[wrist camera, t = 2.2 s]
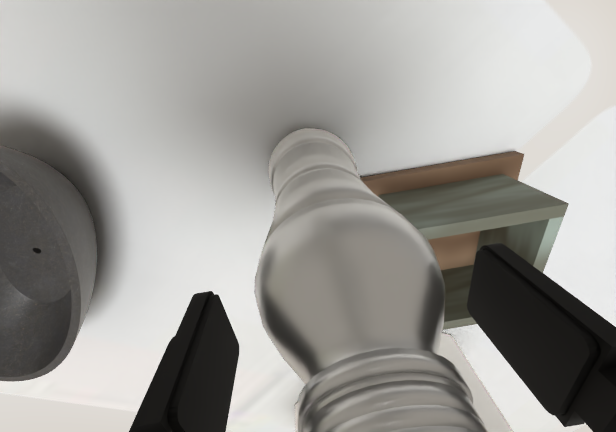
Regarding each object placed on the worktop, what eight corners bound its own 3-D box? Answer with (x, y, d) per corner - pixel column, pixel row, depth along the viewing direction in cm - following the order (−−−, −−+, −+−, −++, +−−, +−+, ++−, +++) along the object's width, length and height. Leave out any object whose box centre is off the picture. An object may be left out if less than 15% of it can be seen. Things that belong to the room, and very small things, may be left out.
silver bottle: (311, 103, 20) (531, 329, 2) (363, 166, 22) (645, 490, 5) (253, 160, 21) (118, 542, 4) (308, 212, 24) (372, 576, 7)
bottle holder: (357, 177, 23) (385, 215, 17) (515, 151, 23) (599, 179, 17) (364, 293, 30) (385, 350, 24) (486, 272, 30) (538, 323, 24)
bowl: (138, 150, 21) (85, 178, 15) (115, 331, 30) (77, 390, 24) (-58, 84, 17) (-213, 89, 12) (-17, 308, 27) (-94, 369, 21)
